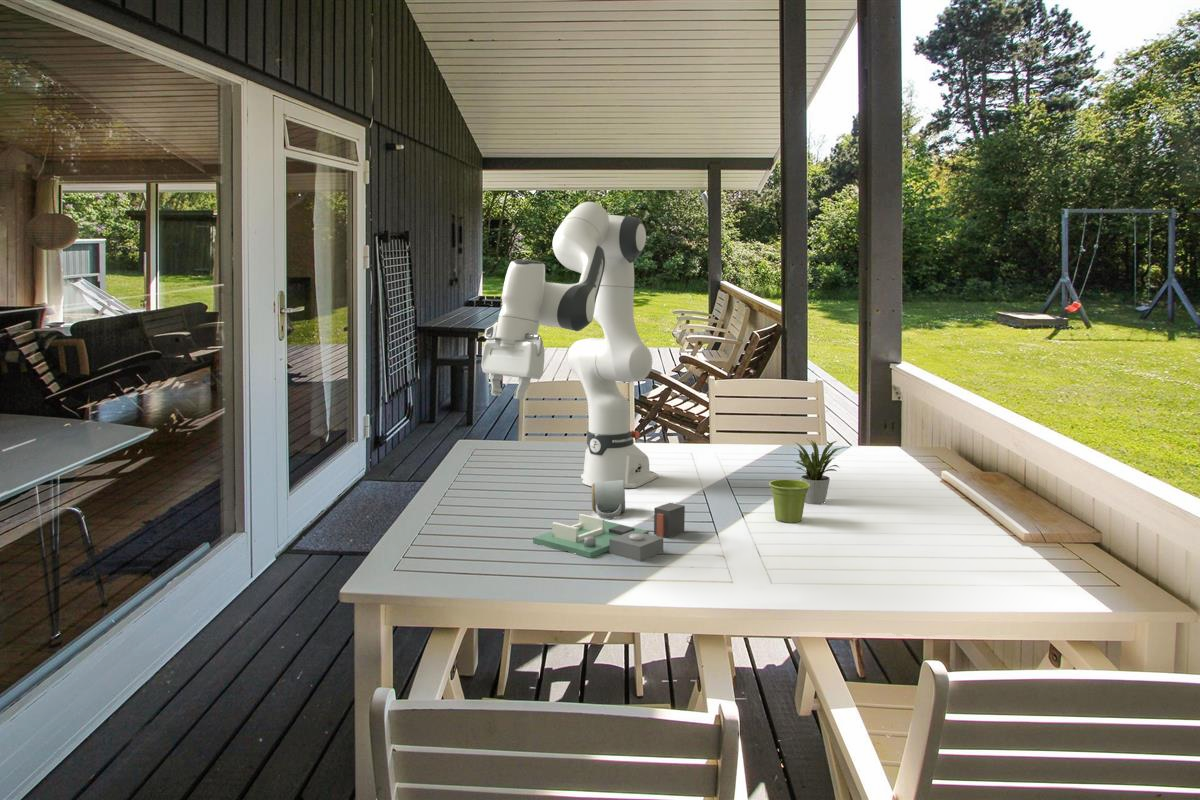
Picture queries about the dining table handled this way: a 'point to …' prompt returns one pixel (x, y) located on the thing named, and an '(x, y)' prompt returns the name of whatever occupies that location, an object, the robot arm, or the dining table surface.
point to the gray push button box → (636, 545)
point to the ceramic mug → (608, 498)
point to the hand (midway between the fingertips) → (507, 397)
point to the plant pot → (789, 499)
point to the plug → (669, 520)
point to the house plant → (816, 472)
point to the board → (584, 535)
